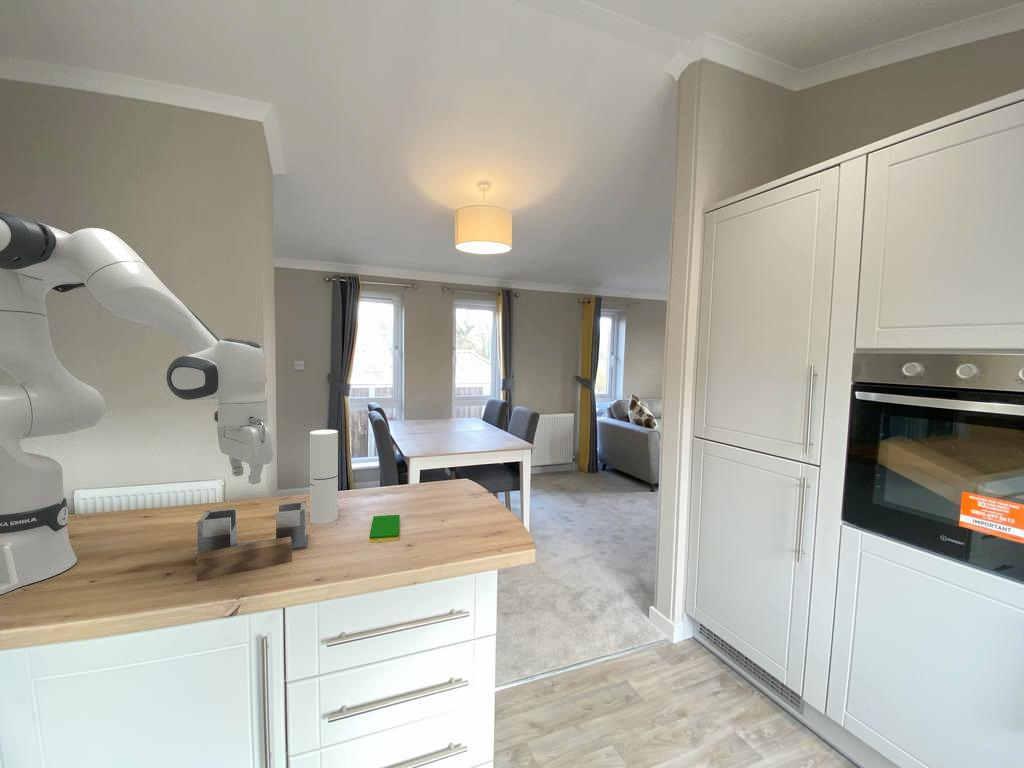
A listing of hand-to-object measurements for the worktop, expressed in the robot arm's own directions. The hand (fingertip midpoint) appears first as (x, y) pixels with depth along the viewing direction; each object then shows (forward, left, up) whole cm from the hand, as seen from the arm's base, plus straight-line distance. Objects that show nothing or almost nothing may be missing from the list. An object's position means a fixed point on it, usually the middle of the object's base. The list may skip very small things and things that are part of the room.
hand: (246, 479), depth 91 cm
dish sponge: (+30, +9, -20) cm, 37 cm away
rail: (0, -1, -20) cm, 20 cm away
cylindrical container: (+15, +23, -20) cm, 34 cm away
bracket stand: (+1, +8, -20) cm, 21 cm away
